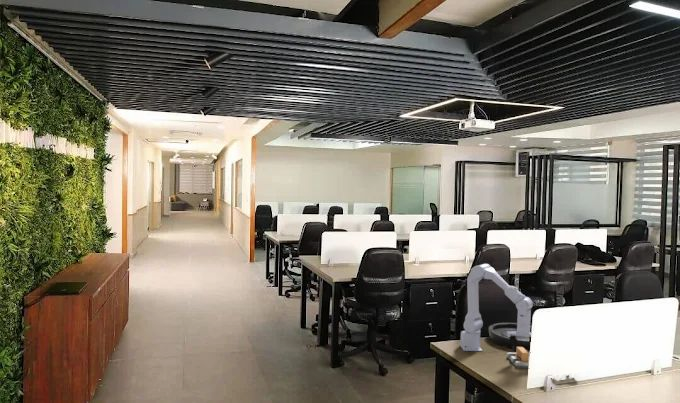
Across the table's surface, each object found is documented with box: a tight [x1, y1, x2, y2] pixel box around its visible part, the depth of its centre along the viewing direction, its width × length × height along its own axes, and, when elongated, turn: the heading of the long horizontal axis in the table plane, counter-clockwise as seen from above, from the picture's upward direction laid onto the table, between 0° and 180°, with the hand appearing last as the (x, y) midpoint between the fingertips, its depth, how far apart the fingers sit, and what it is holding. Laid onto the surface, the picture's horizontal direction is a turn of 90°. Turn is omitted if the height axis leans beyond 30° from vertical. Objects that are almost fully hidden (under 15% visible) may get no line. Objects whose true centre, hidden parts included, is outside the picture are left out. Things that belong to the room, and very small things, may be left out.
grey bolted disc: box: [488, 322, 532, 351], centre depth 248 cm, size 30×6×30 cm
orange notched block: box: [515, 347, 530, 361], centre depth 218 cm, size 3×8×5 cm, turn 179°
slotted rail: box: [506, 351, 529, 369], centre depth 218 cm, size 10×13×2 cm
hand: (522, 351), depth 218 cm, fingers open, 7 cm apart
